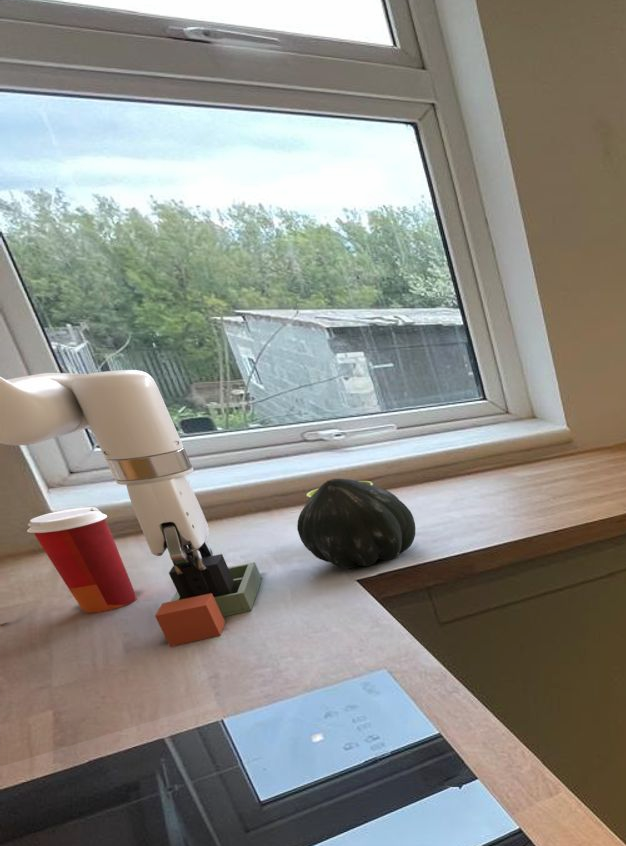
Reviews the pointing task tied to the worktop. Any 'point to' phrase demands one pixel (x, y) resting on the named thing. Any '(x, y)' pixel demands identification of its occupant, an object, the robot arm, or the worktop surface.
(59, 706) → the worktop surface
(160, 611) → the pad terracotta
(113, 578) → the paper cup
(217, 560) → the pad charcoal
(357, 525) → the squash
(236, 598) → the green tray
